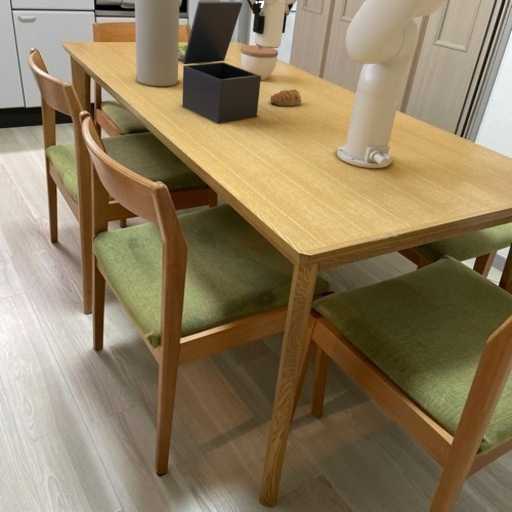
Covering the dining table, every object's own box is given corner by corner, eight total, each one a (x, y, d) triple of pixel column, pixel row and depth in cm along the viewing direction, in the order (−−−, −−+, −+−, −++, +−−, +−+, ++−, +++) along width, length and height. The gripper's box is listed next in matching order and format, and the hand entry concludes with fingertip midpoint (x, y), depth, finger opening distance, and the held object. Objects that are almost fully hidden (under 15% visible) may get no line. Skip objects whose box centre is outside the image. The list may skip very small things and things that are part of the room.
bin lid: (242, 3, 132) (230, -8, 134) (200, 3, 124) (187, -9, 126) (224, 61, 144) (213, 49, 146) (184, 64, 136) (173, 52, 138)
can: (249, 44, 128) (255, -10, 122) (262, 41, 133) (267, -11, 127) (273, 49, 126) (279, -6, 119) (284, 46, 131) (291, -7, 124)
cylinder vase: (129, 83, 156) (126, -10, 143) (146, 74, 167) (145, -13, 153) (168, 89, 154) (169, -4, 141) (183, 80, 165) (185, -7, 151)
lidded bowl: (280, 82, 176) (285, 47, 170) (246, 82, 171) (249, 46, 165) (266, 72, 186) (270, 39, 180) (233, 72, 181) (235, 38, 175)
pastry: (279, 108, 149) (280, 95, 147) (264, 102, 154) (265, 88, 152) (302, 105, 155) (304, 92, 153) (287, 99, 159) (289, 86, 157)
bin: (257, 116, 141) (261, 75, 135) (218, 123, 133) (220, 80, 127) (220, 100, 150) (223, 61, 144) (182, 106, 142) (183, 65, 136)
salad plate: (200, 67, 183) (201, 53, 180) (155, 58, 187) (155, 44, 184) (222, 58, 198) (222, 45, 196) (180, 50, 203) (180, 37, 200)
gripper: (261, -53, 111) (252, 37, 120) (315, -47, 121) (303, 34, 131) (238, -56, 115) (232, 30, 125) (293, -51, 126) (283, 28, 135)
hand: (268, 31), depth 128 cm, fingers closed on can, 6 cm apart
